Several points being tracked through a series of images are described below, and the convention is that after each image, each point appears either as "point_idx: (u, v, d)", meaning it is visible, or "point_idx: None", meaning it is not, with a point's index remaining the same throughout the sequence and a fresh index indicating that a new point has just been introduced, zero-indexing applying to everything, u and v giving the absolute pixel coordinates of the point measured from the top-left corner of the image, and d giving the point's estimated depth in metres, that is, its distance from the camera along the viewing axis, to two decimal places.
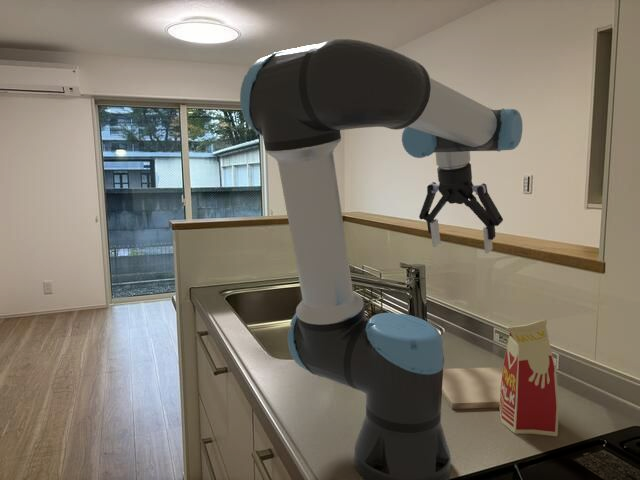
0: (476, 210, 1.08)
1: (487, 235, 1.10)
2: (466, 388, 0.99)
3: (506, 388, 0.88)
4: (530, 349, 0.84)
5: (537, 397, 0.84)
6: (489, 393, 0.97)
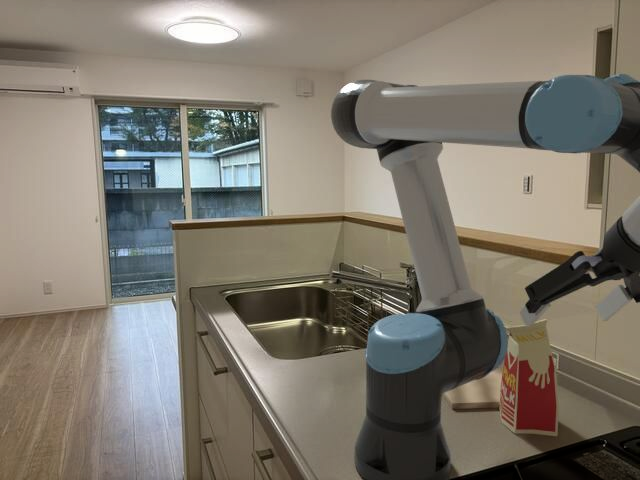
0: None
1: None
2: (466, 388, 0.99)
3: (506, 388, 0.88)
4: (530, 349, 0.84)
5: (537, 397, 0.84)
6: (489, 393, 0.97)
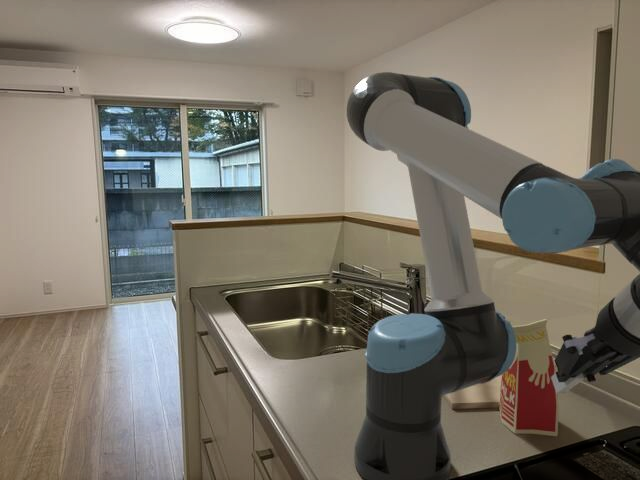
0: None
1: None
2: (466, 388, 0.99)
3: (506, 388, 0.88)
4: (530, 349, 0.84)
5: (537, 397, 0.84)
6: (489, 393, 0.97)
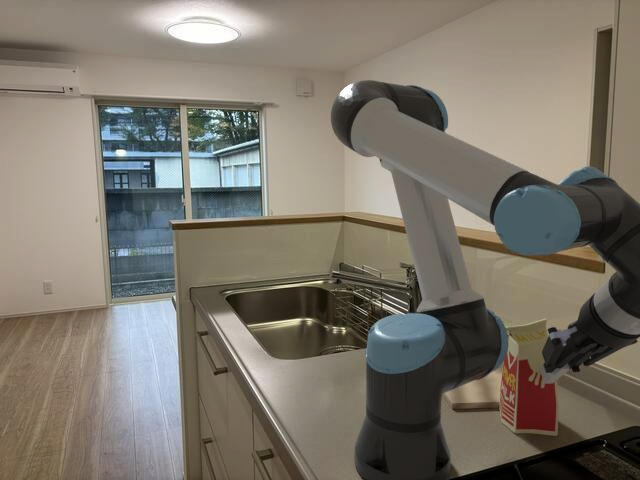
0: None
1: None
2: (466, 388, 0.99)
3: (506, 388, 0.88)
4: (529, 349, 0.84)
5: (537, 397, 0.84)
6: (489, 393, 0.97)
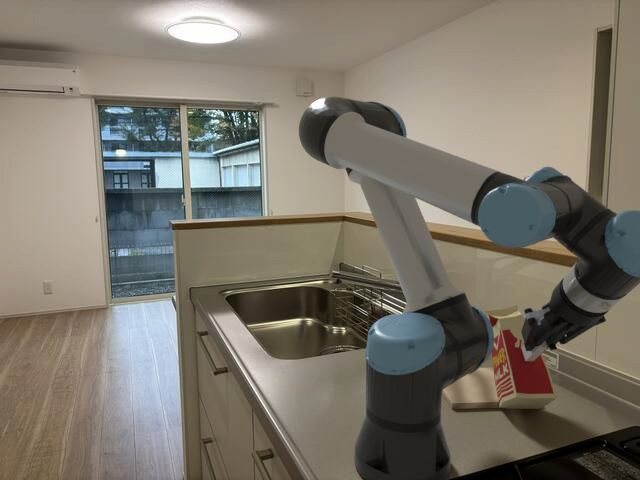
0: None
1: None
2: (466, 388, 0.99)
3: (499, 368, 0.93)
4: (509, 321, 0.95)
5: (527, 361, 0.90)
6: (489, 393, 0.97)
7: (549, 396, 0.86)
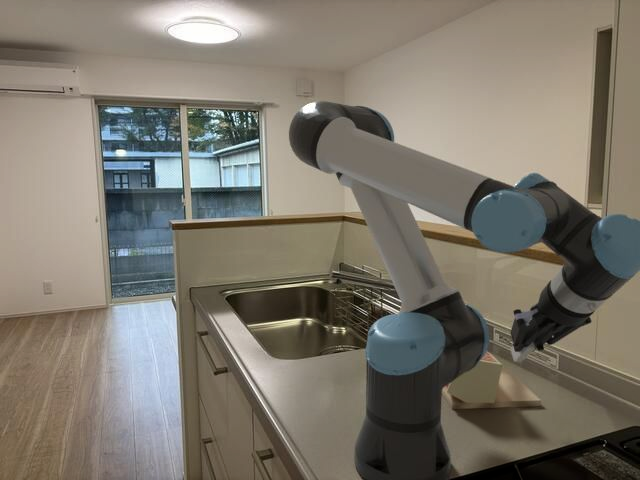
0: None
1: None
2: None
3: None
4: None
5: None
6: None
7: None
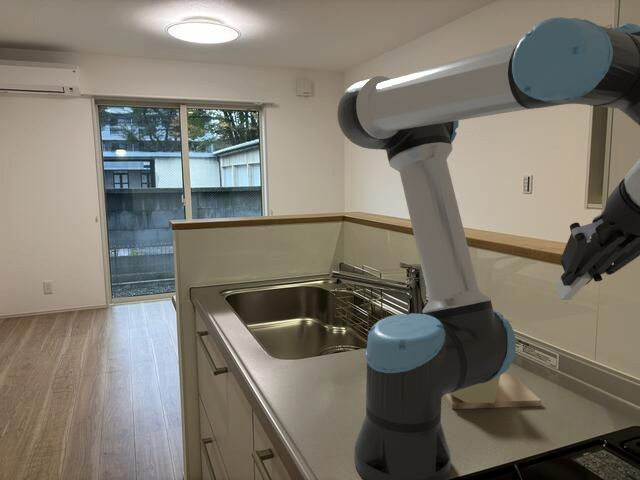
0: None
1: None
2: None
3: None
4: None
5: None
6: None
7: None
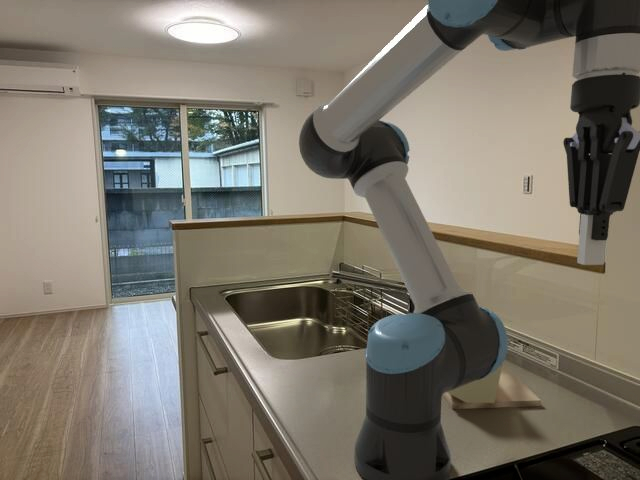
0: (596, 175, 0.59)
1: (589, 230, 0.61)
2: None
3: None
4: None
5: None
6: None
7: None
